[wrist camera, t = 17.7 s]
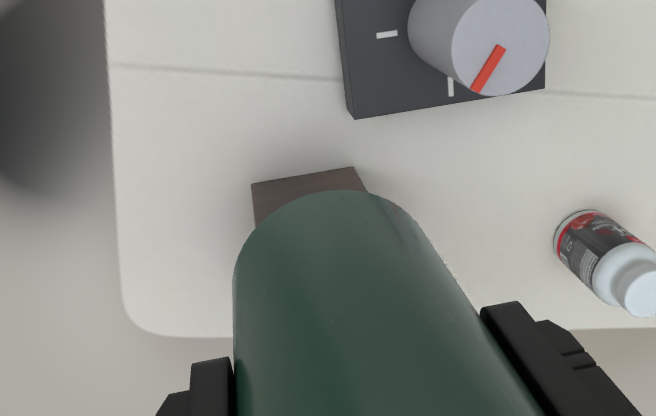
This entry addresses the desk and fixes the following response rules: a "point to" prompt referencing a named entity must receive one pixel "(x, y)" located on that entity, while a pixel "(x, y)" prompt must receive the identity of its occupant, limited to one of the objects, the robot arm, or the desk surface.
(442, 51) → the grey round cylinder
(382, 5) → the dark grey panel
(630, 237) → the pill bottle
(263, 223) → the tea tin
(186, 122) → the desk surface
